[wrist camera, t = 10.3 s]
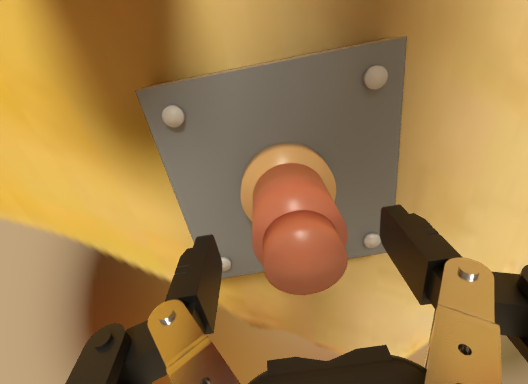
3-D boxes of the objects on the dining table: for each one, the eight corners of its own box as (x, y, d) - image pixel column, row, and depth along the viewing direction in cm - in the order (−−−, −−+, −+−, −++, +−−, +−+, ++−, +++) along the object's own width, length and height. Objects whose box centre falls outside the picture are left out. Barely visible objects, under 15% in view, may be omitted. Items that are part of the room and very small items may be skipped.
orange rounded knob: (245, 170, 16) (241, 231, 10) (323, 156, 15) (358, 212, 10) (259, 232, 18) (262, 308, 13) (327, 220, 18) (359, 293, 12)
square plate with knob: (150, 85, 17) (123, 94, 13) (385, 38, 16) (422, 35, 13) (212, 259, 24) (205, 295, 21) (379, 232, 23) (401, 265, 20)
